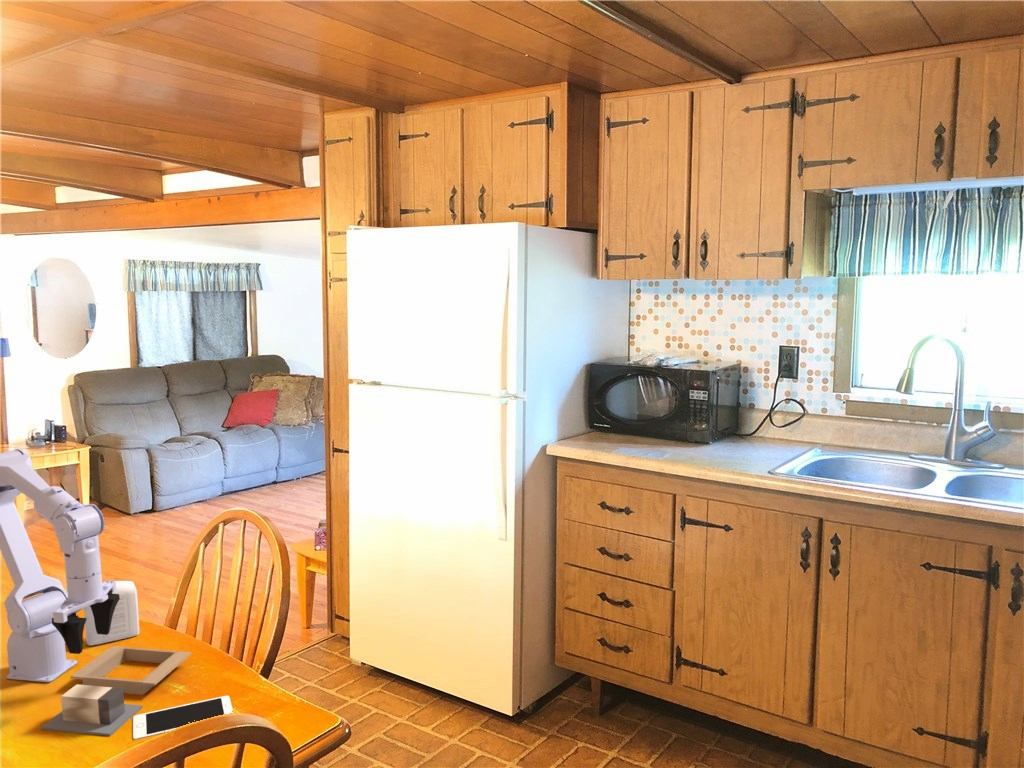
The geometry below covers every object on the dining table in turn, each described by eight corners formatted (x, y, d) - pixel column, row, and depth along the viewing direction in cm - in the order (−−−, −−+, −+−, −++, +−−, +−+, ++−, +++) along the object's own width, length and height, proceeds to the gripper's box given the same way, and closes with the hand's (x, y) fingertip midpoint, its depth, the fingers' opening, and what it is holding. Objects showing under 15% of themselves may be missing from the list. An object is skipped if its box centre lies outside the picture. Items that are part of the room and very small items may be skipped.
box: (63, 720, 142) (61, 696, 141) (79, 707, 146) (76, 684, 145) (110, 724, 141) (108, 700, 140) (124, 712, 144) (122, 688, 144)
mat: (41, 729, 140) (41, 727, 140) (77, 701, 149) (76, 699, 149) (110, 736, 138) (109, 733, 138) (142, 707, 147) (142, 705, 147)
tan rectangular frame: (71, 688, 153) (70, 676, 153) (113, 657, 165) (112, 646, 165) (155, 696, 150) (154, 683, 150) (191, 664, 162) (191, 652, 162)
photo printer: (138, 628, 178) (134, 574, 176) (141, 636, 175) (137, 580, 173) (85, 640, 173) (80, 585, 171) (88, 648, 169) (82, 591, 167)
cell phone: (133, 718, 144) (132, 715, 144) (229, 698, 150) (229, 694, 150) (133, 742, 137) (133, 738, 137) (234, 719, 143) (233, 716, 143)
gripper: (76, 589, 141) (82, 663, 143) (128, 559, 156) (133, 627, 158) (39, 587, 143) (46, 660, 145) (94, 557, 157) (100, 624, 159)
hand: (89, 643), depth 151 cm, fingers open, 7 cm apart
